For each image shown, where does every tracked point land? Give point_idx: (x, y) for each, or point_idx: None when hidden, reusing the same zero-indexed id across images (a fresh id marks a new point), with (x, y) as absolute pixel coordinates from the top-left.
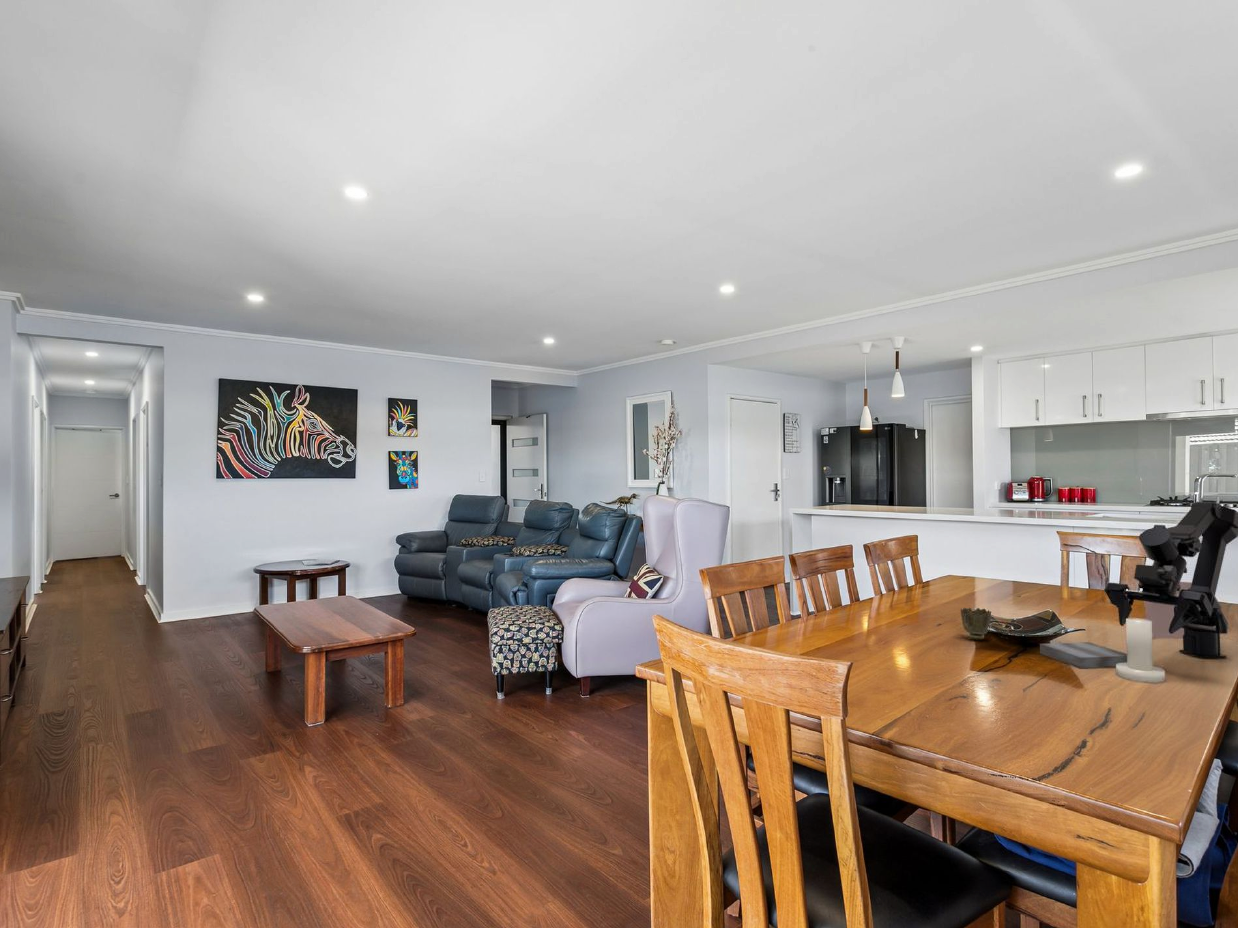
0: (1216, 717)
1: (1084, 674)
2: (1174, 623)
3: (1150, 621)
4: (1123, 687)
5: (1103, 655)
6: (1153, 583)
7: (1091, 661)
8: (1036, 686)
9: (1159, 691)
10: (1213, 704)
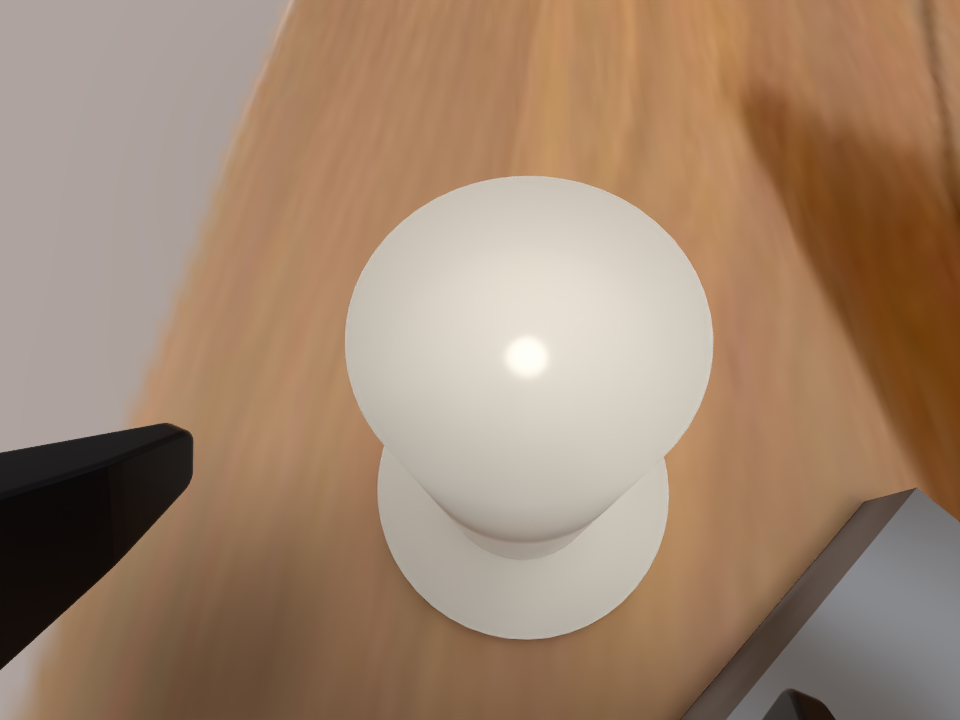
0: (289, 17)
1: (802, 356)
2: (32, 453)
3: (367, 300)
4: None
5: None
6: None
7: (839, 557)
8: (903, 23)
9: None
10: (256, 160)
